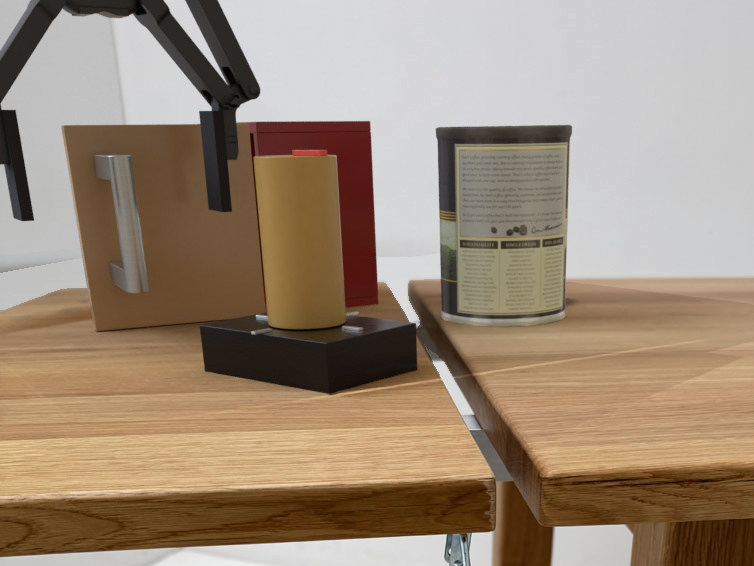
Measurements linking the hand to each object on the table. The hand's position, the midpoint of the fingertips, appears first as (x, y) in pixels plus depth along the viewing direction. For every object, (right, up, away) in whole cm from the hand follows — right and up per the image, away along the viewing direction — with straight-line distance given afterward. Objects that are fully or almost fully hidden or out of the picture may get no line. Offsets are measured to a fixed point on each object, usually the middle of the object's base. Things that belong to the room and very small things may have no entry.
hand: (126, 215), depth 71 cm
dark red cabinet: (+8, +1, +22) cm, 23 cm away
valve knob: (+14, -10, -7) cm, 18 cm away
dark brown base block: (+14, -12, -6) cm, 19 cm away
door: (+2, -6, +8) cm, 10 cm away
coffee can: (+27, -4, +12) cm, 30 cm away
